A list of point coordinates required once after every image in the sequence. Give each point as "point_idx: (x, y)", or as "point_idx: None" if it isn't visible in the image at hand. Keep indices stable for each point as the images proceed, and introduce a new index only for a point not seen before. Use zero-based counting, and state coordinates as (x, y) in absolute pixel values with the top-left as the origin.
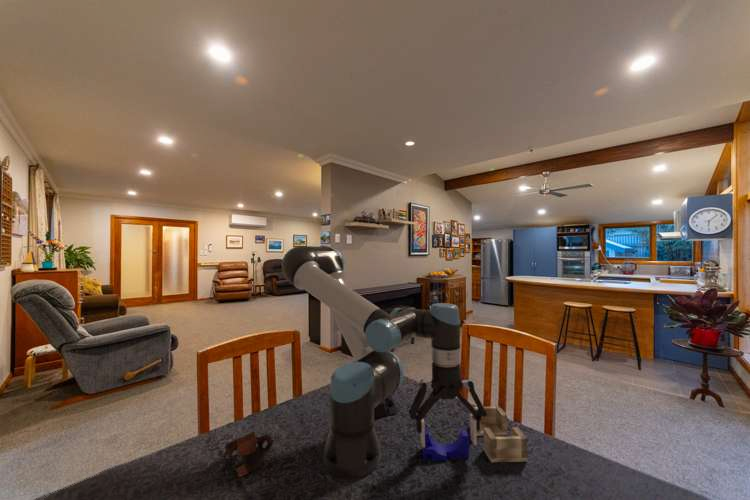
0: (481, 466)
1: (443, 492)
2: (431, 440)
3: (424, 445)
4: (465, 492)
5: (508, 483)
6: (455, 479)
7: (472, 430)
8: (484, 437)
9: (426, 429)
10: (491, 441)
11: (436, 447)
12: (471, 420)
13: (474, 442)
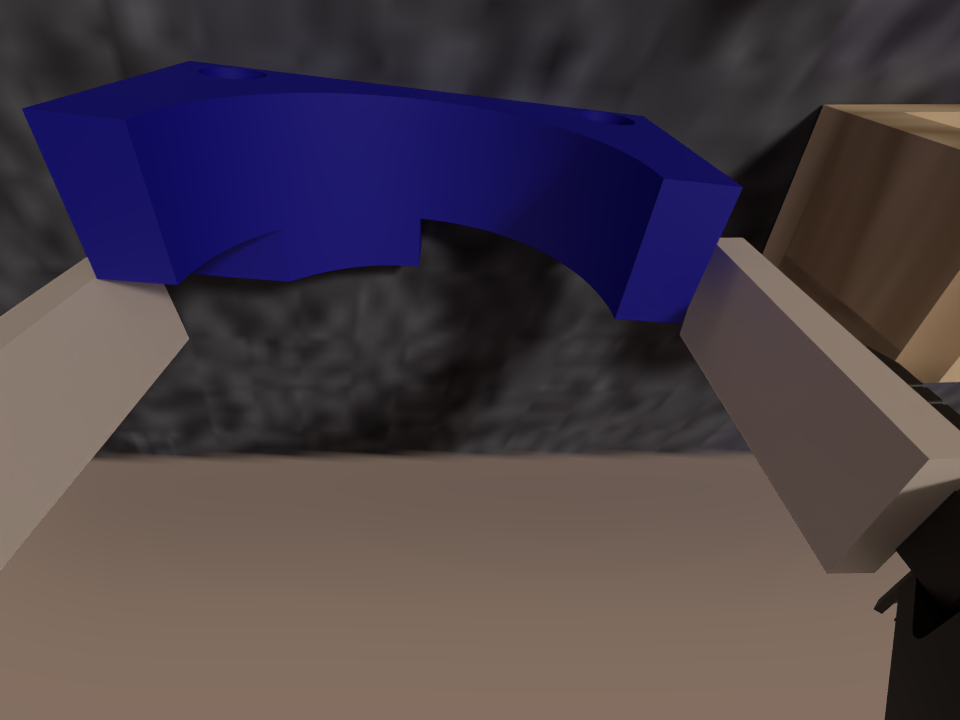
0: None
1: (361, 453)
2: (254, 163)
3: (175, 346)
4: (471, 452)
5: (722, 411)
6: (442, 390)
7: (749, 395)
8: (912, 165)
9: (116, 172)
10: None
11: (325, 199)
12: (834, 470)
13: (694, 350)
